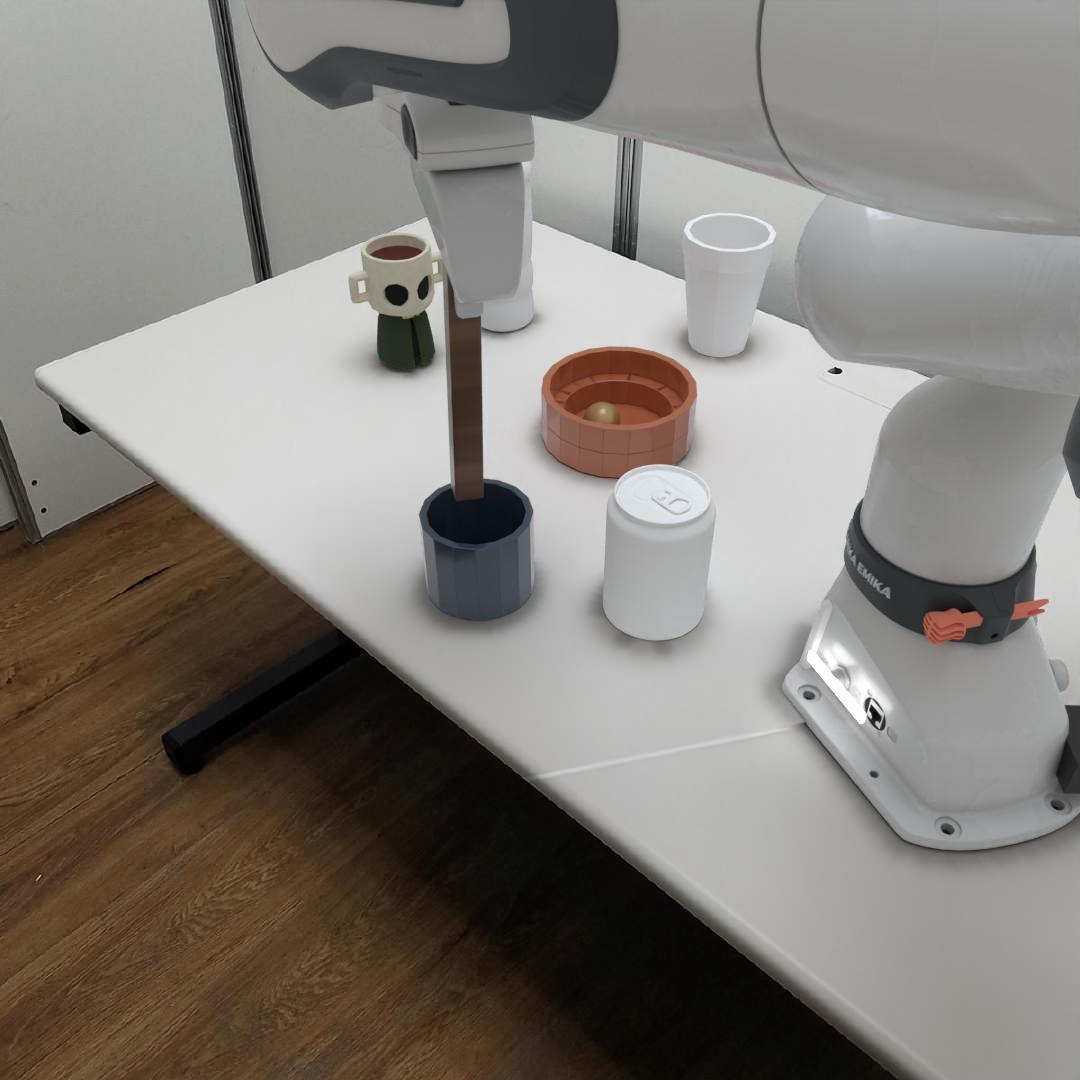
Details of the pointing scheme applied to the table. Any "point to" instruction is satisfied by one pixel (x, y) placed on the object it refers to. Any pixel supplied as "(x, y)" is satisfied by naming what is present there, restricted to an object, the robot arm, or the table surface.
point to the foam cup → (724, 279)
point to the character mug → (399, 295)
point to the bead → (603, 413)
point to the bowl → (639, 396)
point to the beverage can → (657, 551)
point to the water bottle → (521, 305)
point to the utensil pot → (478, 551)
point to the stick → (463, 398)
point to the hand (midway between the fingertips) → (463, 300)
